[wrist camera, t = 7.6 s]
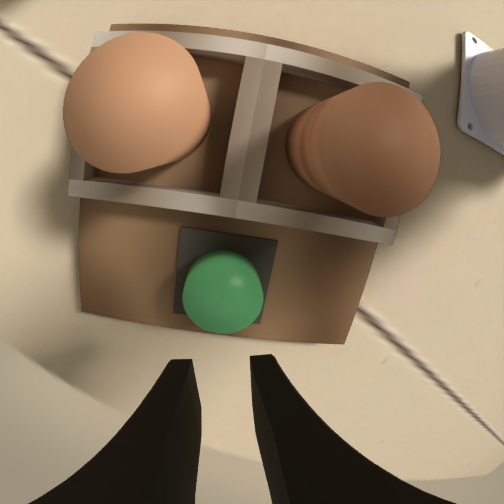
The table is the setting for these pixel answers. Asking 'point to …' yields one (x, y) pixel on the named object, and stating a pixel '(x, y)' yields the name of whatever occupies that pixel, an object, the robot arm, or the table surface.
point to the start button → (222, 292)
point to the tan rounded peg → (136, 104)
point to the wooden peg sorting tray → (261, 188)
